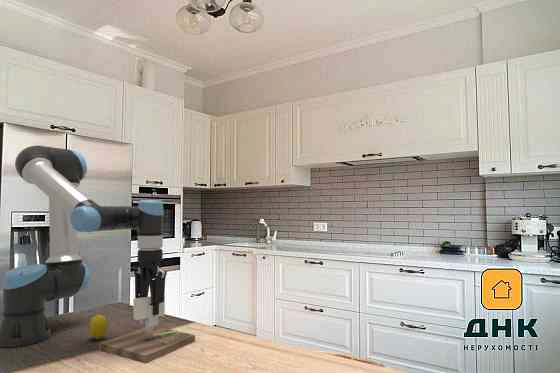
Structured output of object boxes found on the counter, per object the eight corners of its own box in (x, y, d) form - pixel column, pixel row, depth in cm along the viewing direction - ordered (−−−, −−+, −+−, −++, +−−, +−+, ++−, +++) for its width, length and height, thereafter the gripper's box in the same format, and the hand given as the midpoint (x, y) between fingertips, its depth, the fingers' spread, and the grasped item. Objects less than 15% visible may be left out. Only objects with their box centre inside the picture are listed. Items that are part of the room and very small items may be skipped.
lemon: (99, 342, 123) (100, 317, 124) (84, 341, 124) (85, 316, 125) (110, 337, 129) (111, 312, 129) (96, 335, 130) (96, 311, 130)
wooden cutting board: (99, 350, 117) (99, 342, 117) (150, 331, 134) (150, 325, 134) (145, 363, 107) (146, 355, 107) (195, 341, 125) (195, 334, 125)
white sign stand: (134, 342, 117) (135, 300, 118) (132, 339, 119) (133, 298, 120) (178, 333, 125) (178, 294, 126) (175, 331, 127) (176, 293, 128)
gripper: (177, 249, 121) (176, 325, 119) (143, 246, 130) (142, 317, 129) (157, 251, 114) (156, 332, 113) (123, 248, 124) (122, 322, 123)
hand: (148, 324), depth 121 cm, fingers closed on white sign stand, 4 cm apart
